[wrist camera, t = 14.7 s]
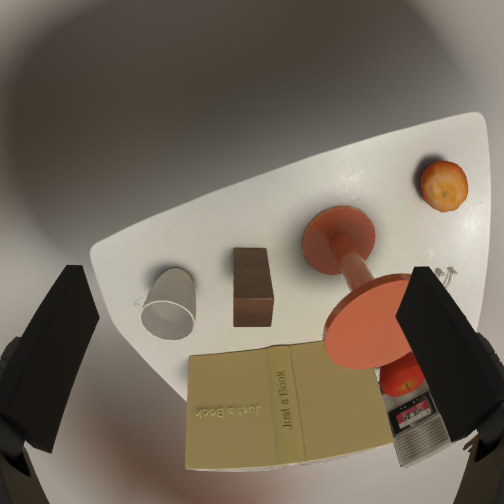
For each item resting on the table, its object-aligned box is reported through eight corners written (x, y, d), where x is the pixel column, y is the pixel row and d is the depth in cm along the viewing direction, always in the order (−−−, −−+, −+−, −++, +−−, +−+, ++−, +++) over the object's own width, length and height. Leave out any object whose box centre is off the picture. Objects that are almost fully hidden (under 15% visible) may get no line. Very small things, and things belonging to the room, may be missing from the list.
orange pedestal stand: (300, 197, 44) (340, 281, 27) (386, 202, 45) (455, 278, 28) (291, 276, 52) (314, 374, 35) (368, 275, 52) (412, 362, 35)
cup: (162, 301, 53) (151, 343, 45) (146, 264, 49) (131, 304, 40) (206, 295, 53) (201, 338, 44) (193, 256, 49) (185, 297, 40)
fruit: (465, 193, 43) (470, 218, 37) (423, 194, 47) (423, 219, 42) (462, 148, 39) (469, 168, 33) (417, 151, 43) (417, 171, 38)
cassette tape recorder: (418, 358, 68) (453, 438, 47) (423, 367, 70) (456, 442, 49) (372, 385, 72) (398, 466, 51) (380, 392, 75) (405, 468, 53)
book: (364, 331, 60) (396, 441, 41) (358, 351, 65) (384, 450, 46) (188, 352, 61) (182, 467, 42) (197, 370, 66) (195, 474, 47)
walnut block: (233, 247, 48) (233, 298, 38) (266, 248, 48) (274, 298, 38) (233, 274, 51) (233, 327, 41) (264, 274, 51) (271, 326, 41)
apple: (398, 328, 61) (419, 370, 50) (419, 343, 64) (439, 381, 54) (361, 357, 65) (376, 400, 55) (385, 369, 69) (400, 408, 58)
